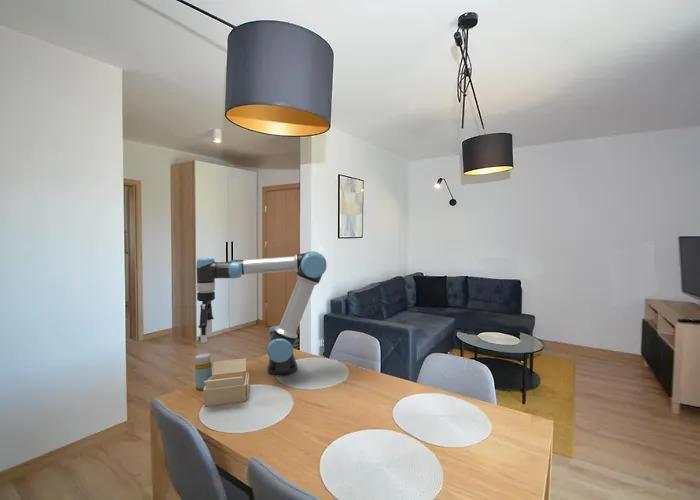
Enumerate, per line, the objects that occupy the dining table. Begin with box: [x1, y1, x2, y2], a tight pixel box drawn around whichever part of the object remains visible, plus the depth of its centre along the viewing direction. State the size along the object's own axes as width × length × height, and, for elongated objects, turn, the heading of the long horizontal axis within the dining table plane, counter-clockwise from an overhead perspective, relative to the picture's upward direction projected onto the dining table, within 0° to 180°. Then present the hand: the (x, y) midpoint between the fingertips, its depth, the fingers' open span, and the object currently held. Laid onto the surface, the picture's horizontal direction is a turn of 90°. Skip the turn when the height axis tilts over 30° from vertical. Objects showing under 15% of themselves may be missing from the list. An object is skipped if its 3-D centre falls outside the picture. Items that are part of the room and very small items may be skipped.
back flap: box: [212, 357, 247, 376], centre depth 155 cm, size 6×14×1 cm
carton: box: [202, 371, 251, 408], centre depth 147 cm, size 17×14×7 cm
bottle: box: [194, 352, 213, 391], centre depth 156 cm, size 7×7×15 cm
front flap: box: [204, 377, 243, 389], centre depth 138 cm, size 6×14×1 cm
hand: (206, 337), depth 155 cm, fingers open, 13 cm apart
